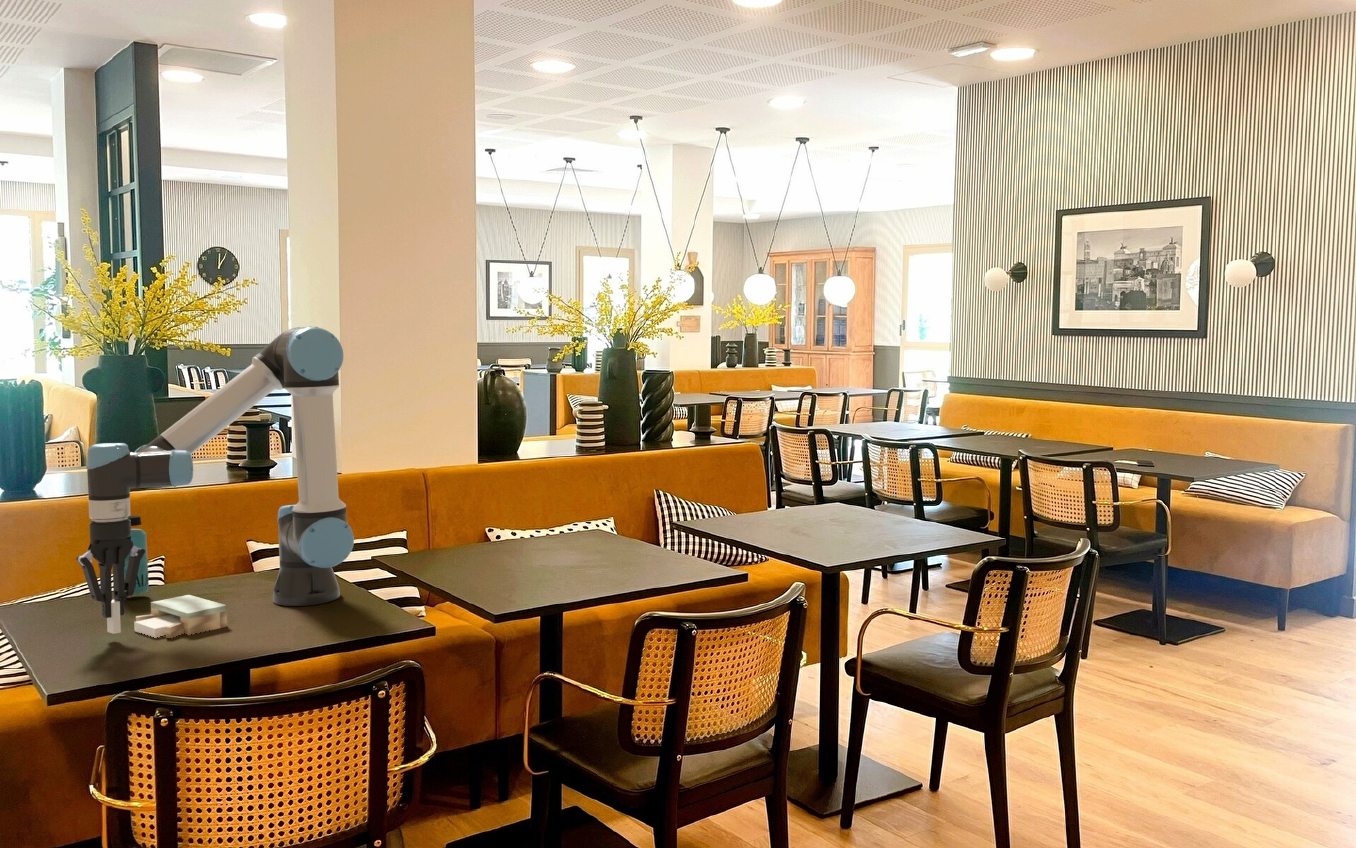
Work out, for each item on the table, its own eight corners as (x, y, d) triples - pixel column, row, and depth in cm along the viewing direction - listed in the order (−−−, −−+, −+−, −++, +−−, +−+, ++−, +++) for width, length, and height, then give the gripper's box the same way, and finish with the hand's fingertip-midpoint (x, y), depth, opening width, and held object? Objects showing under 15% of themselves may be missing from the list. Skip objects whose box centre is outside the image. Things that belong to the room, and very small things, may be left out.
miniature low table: (169, 639, 220) (168, 617, 220) (133, 627, 230) (132, 605, 230) (227, 626, 230) (226, 605, 230) (189, 615, 240) (188, 594, 240)
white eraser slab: (155, 638, 221) (154, 628, 221) (134, 631, 227) (134, 622, 227) (210, 625, 231) (210, 616, 231) (189, 619, 236) (189, 610, 236)
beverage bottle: (126, 595, 259) (122, 514, 258) (154, 594, 260) (150, 513, 258) (114, 601, 253) (110, 518, 251) (143, 601, 253) (139, 518, 252)
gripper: (84, 525, 210) (88, 642, 212) (150, 516, 220) (154, 628, 222) (68, 521, 215) (72, 635, 216) (133, 513, 225) (137, 622, 227)
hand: (114, 632), depth 219 cm, fingers closed
